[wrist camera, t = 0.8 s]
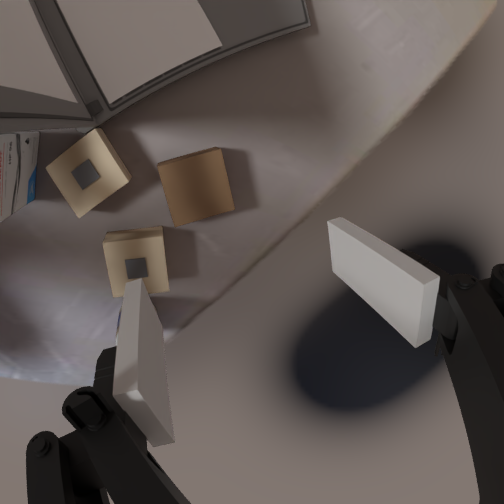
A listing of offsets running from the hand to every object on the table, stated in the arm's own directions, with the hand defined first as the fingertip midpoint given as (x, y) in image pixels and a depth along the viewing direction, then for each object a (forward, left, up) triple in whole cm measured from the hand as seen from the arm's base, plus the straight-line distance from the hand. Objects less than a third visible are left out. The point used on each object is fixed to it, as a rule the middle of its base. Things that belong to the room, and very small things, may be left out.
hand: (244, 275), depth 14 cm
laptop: (0, +30, -26) cm, 39 cm away
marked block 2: (-9, -7, -26) cm, 28 cm away
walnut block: (0, 0, -26) cm, 26 cm away
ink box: (-20, +9, -26) cm, 34 cm away
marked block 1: (-11, +5, -26) cm, 28 cm away
